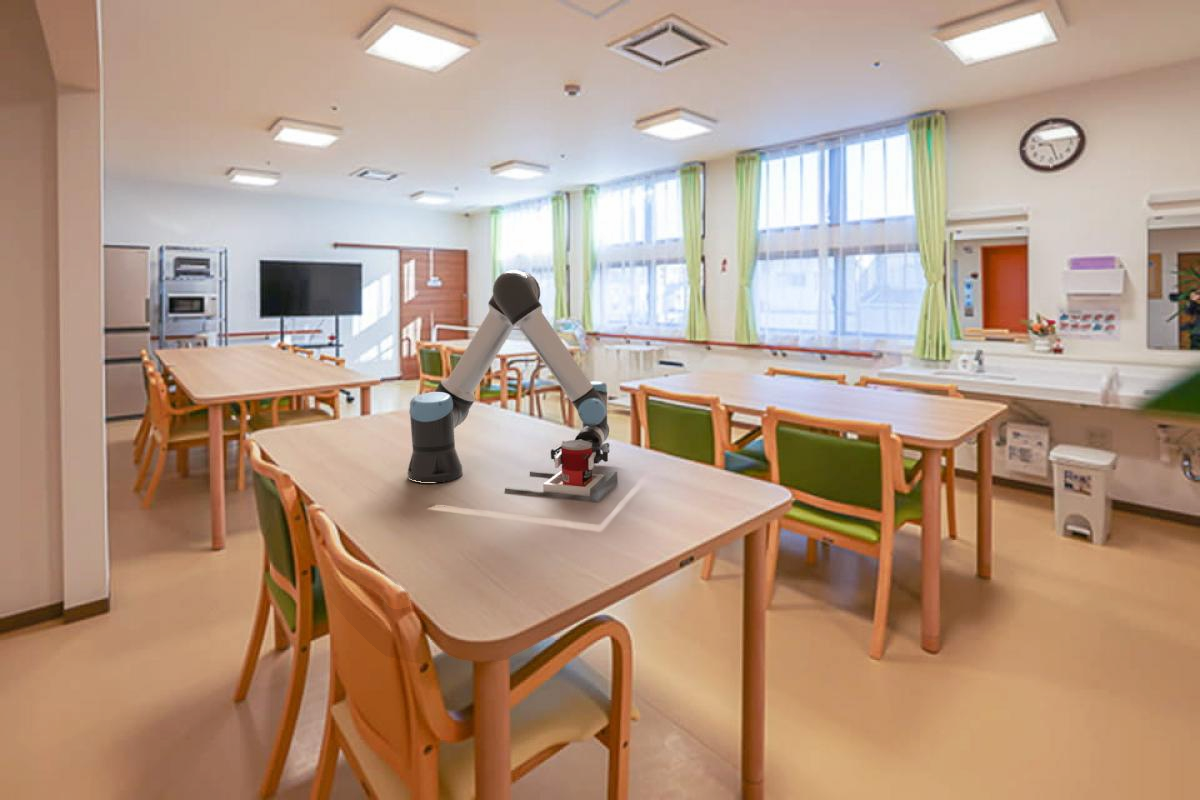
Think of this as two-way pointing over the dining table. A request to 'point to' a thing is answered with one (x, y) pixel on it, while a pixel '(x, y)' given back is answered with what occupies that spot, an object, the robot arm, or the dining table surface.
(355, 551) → the dining table surface
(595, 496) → the slide board
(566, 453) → the canned food
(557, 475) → the carriage
